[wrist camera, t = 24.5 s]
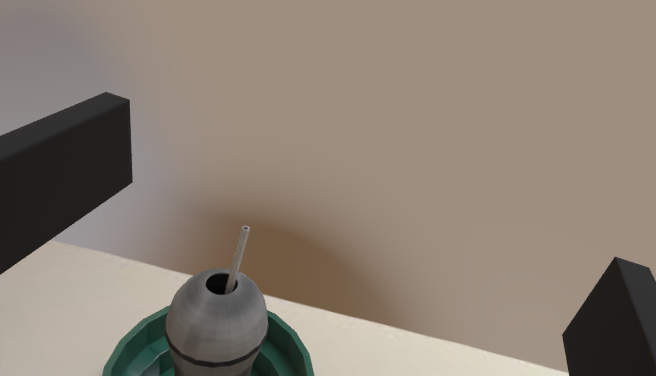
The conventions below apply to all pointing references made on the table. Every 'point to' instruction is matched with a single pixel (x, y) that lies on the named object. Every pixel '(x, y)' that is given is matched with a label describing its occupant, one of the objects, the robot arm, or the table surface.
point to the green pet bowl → (157, 362)
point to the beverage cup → (217, 322)
